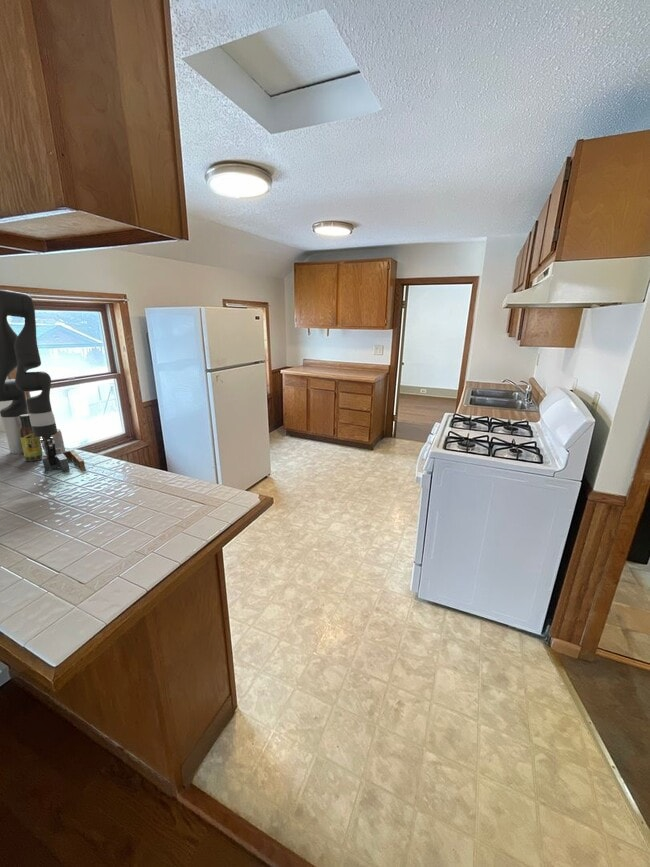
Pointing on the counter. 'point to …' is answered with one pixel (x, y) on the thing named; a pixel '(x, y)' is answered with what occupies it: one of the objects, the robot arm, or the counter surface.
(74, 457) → the brown angled frame
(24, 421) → the sauce bottle
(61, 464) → the bracket
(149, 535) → the counter surface
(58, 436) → the energy drink
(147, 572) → the counter surface
